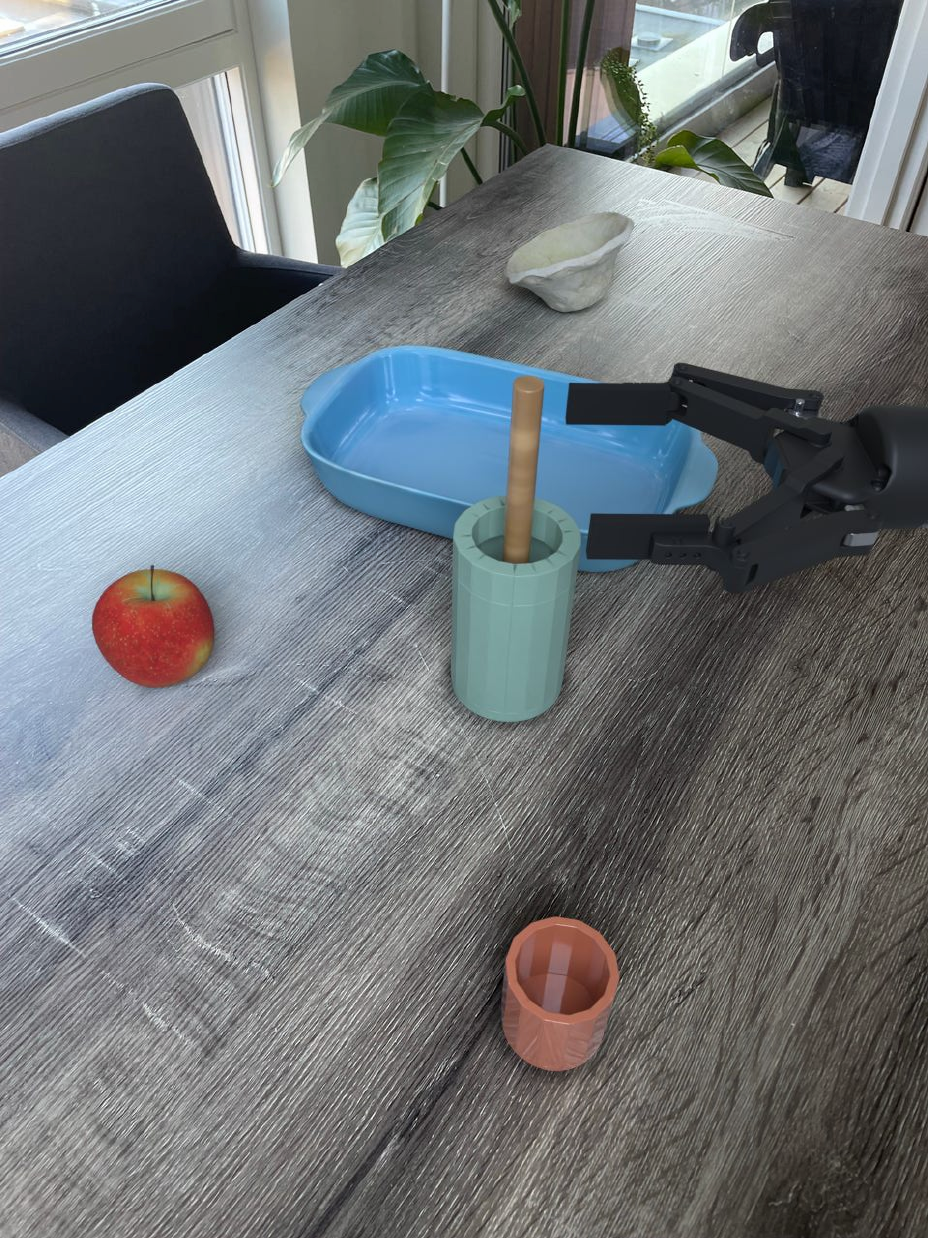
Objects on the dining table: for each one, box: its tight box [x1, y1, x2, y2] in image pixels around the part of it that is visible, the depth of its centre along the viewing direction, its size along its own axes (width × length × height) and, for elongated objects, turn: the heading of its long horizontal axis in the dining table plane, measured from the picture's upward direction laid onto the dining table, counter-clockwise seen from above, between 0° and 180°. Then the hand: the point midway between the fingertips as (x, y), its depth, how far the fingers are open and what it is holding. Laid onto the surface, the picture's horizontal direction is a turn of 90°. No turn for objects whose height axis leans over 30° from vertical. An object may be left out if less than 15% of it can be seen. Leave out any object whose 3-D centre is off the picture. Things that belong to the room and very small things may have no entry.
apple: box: [91, 564, 216, 689], centre depth 71 cm, size 8×8×10 cm
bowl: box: [503, 211, 635, 313], centre depth 114 cm, size 15×14×10 cm
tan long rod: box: [502, 376, 545, 564], centre depth 65 cm, size 4×4×24 cm
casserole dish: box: [299, 344, 719, 573], centre depth 88 cm, size 37×22×7 cm, turn 69°
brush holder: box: [500, 916, 620, 1072], centre depth 54 cm, size 6×6×6 cm
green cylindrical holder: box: [450, 496, 581, 723], centre depth 69 cm, size 8×8×14 cm
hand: (576, 464), depth 60 cm, fingers open, 13 cm apart
